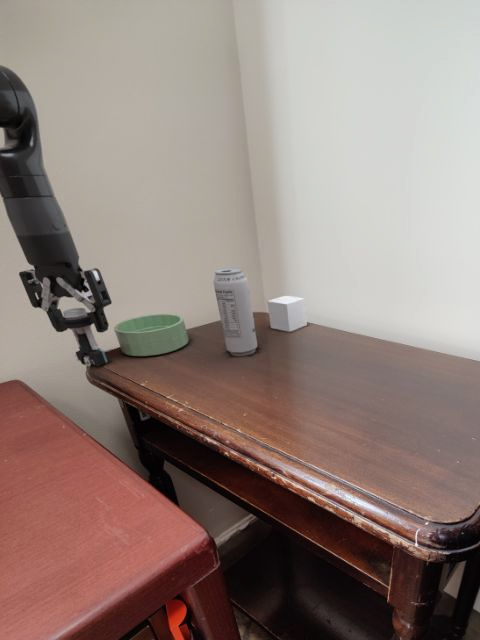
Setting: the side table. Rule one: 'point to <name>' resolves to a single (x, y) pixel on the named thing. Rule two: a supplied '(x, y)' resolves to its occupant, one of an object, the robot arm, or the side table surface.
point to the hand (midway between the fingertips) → (82, 331)
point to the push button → (84, 337)
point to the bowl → (151, 334)
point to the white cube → (287, 313)
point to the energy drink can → (235, 311)
